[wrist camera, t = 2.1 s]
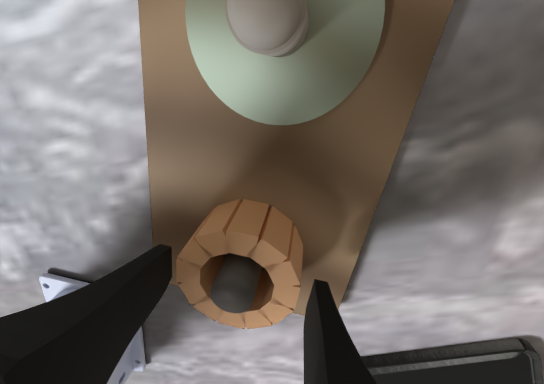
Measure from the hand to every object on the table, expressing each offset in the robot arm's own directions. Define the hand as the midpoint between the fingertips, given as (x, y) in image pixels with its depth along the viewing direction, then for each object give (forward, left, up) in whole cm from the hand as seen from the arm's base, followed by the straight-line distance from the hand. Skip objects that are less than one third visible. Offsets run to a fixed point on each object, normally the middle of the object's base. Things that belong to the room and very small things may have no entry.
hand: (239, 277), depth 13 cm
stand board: (+5, 0, -4) cm, 7 cm away
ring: (0, 0, -3) cm, 3 cm away
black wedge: (-11, -14, -4) cm, 18 cm away
